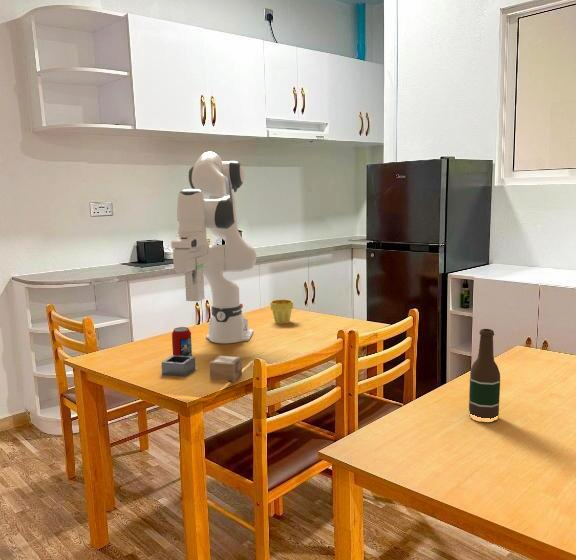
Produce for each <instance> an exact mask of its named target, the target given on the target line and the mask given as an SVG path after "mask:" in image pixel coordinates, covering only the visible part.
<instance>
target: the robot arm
mask: <svg viewBox="0 0 576 560" xmlns="http://www.w3.org/2000/svg"><path fill="white" fill-rule="evenodd" d="M187 179H188V180H187V181H188V183H189V186H190V187H191V188H187V189H186V188H185V189H182V190H180V191H179V192H178V194H177V195H178V196H177V207H176V208H177V209H176V214H177V215H176V216H177V217H176V218H177V221H178V230H177V231H178V232H177V233H178V235H177V236H176V237H175V238H174V239H173V240H171V248H172V249H173V252H172V262H173V269H174V272H175V273H177V274H184V277H185V276H186V279H187V284H188V285H192V284H194V279H193V277H192V270H195V269H196V258H197V257H201V256H203V276H204V279H206V281H207V282H208V284H209V287H210V290H211V291H210V293H211V301H212V305H211V310H210V311H211V315H212V316H211V317H210V318H209V319H208V334H207V335H205V339H207V340H209V341H210V342H211V343H216V344H234V343H239V342H247V341H250V339H251V337H252V336H253V334H254V329H252V328H249V323H248V319H247V318H246V317H245V316H244V314H242V313H243V310H242V309H243V307H244V304H243V303H240V287H239V286H238V284H237V283H235V281H232V280H231V279H228V278H226V277H224V275H223V274H224V273H231V272H232V273H233V272H245V271H249V270H252V269H253V268H254V267H255V266H256V263H257V253H256V251H255V249H254V248H253V247H252V245H250V244H248V243H247V242H246V241H245V240H244V239H243V238H242V236H241V234H240V232H239V229H238V223H237V209H236V201H235V196H234V193H236V192H237V191H238V189H239V188H241V187H242V185H243V183H244V180H245V171H244V168H243V166H242V164H241V163H240V162H239V161H236V160H230V161H223V160H222V158H221V156H220V155H219V154H218V153H215V152H213V151H207V152H204V153H202V154H201V155H200V156H199V157H198V158H197V160H196V162H195V164H194V165H192V166H191V167H190V169H189V170H188V178H187ZM204 195H206V196H209V198H204ZM207 229H209V231H210V232H211V234H212V235H214V236H216V237H218V238H220V239H222V240H223V241H224V242H225V244H214V245H211V244H209V243H208V240H207V238H208V237H207Z"/></svg>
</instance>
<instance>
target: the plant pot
mask: <svg viewBox="0 0 576 560" xmlns="http://www.w3.org/2000/svg"><path fill="white" fill-rule="evenodd" d="M269 305H270V310H271V311H272V315H273V319H274V323H275V324H278V323H279V324H280V325H281V324H282V325H284V323H285V324H288V322H289V323H290V320H291V316H292V315H291V314H292V310H293V308H294V302H293V300H291V299H286V298H285V299H274V300H271V301H270V304H269Z"/></svg>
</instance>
